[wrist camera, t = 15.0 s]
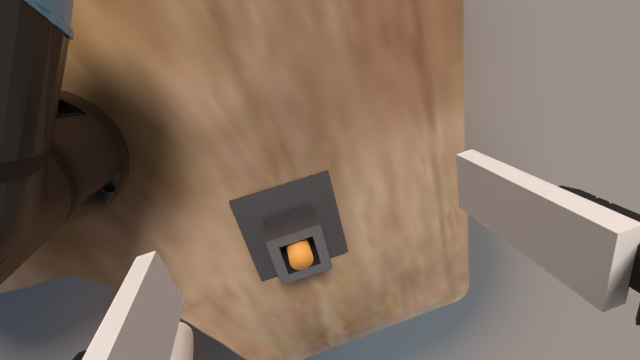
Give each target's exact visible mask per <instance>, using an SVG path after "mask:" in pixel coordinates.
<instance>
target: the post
mask: <svg viewBox="0 0 640 360" xmlns="http://www.w3.org/2000/svg"><path fill="white" fill-rule="evenodd" d="M286 248H287V252H288V257H289V262H290V265H291V267H292V268H294V269H296V270H304V269H307V268H308V267H310V266H311V264H312V263H313V254H312V251H311V248H310V245H309V242H308V238H306V239H303V240H300V241H297V242H294V243H291V244H288V245H286Z"/></svg>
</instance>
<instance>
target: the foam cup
mask: <svg viewBox="0 0 640 360" xmlns="http://www.w3.org/2000/svg"><path fill="white" fill-rule="evenodd" d="M193 340H194V337H193V332H192V330H191V328H190V327H189V326H188V325H186V324H185V323H182V322H179V326H178V330H177V334H176V338H175V342H174V346H173V350H172V354H171V358H170V360H193Z"/></svg>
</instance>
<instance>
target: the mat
mask: <svg viewBox="0 0 640 360" xmlns="http://www.w3.org/2000/svg"><path fill="white" fill-rule="evenodd" d="M310 203H311V204H312V206H313V209H314V211H315V213H316V216H317V218H318V220H319V223H320V225H321V229H322V232H323V236H324V239H325V243H326V246H327V250H328V253H329V257H330V258H331V257H334V256H337V255H339V254H342V253H345V252H348V249H347V245H346V241H345V237H344V233H343V229H342V225H341V221H340V217H339V213H338V209H337V205H336V201H335V197H334V193H333V189H332V185H331V181H330V177H329V173H328V171H324V172H321V173H318V174H314V175H311V176H308V177H305V178H302V179H298V180H295V181H292V182H289V183H286V184H282V185H279V186H276V187H273V188H270V189H266V190H263V191H260V192H257V193H254V194H250V195H247V196H244V197H241V198H238V199H234V200H231V201H229V204H230V206H231V209H232V211H233V213H234V216H235V218H236V221H237V223H238V225H239V228H240V230H241V233H242V235H243V237H244V240H245V242H246V245H247V247H248V249H249V252H250V254H251V257H252V259H253V262H254V264H255V266H256V269H257V271H258V274H259V276H260V278H261V281H263V280H266V279H269V278H272V277H275V276H278V274H277V272H276V269H275V267H274V264H273V261H272V259H271V256H270V254H269V251H268V248H267V246H266V243H265V235H264V225H263V219H264V218H267V217H270V216H273V215H276V214H279V213H282V212H285V211H288V210H291V209H295V208H298V207H301V206H304V205H307V204H310ZM310 239H312V237H309V238H308V240H310ZM283 248H286V245H285V246H283Z"/></svg>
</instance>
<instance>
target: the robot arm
mask: <svg viewBox="0 0 640 360" xmlns="http://www.w3.org/2000/svg"><path fill="white" fill-rule="evenodd" d="M72 8H73V0H0V285H1V284H2V283H3V282H4V281H5V280H6V279H7V278H8V277H9V276H10V275H11V274H12V273H13V272H14V271H15V270H16V269H17V268H18V267H19V266H20V265H21V264H22V263H23V262H24V261H26V260H27V259H28V258H29V257H30V256H31V255H32V254H33V253H34V252H35V251H36V250H37V249H38V248H39V247H40V246H41V245H42V244H43V243H44V242H45V241H46V240H47V239H48V238H49V237H50V236H51V235H52V234H53V233H55V232H56V231H57V230H58V229H59V228H60V227H61V226H62V225H65V224H68V223H70V222H73V221H76V220H79V219H82V218H85V217H88V216H90V215H92V214H94V213H96V212H98V211H99V210H101V209H102V208H104V207H105V206H106V205H107V204H109V203H110V202H111V201H112V199H113V198H114V197H115V196H116V195H117V194H118V193H119V192H120V190H121V189H122V187H123V185H124V184H125V181H126V179H127V176H128V171H129V156H128V150H127V147H126V144H125V141H124V139H123V137H122V135H121V134H120V132H119V130H118V129H117V127H116V126H115V125H114V123H113V122H112V121H111V120H110V119H109V118H108V117H107V116H106V115H105V114H104V113H103V112H102V111H101V110H99V109H98V108H97V107H95V106H94V105H93V104H91V103H89V102H88V101H86V100H84V99H82V98H81V97H78V96H76V95H74V94H71V93H69V92H66V91H63V90H61V87H62V81H63V75H64V69H65V63H66V57H67V51H68V45H69V39H70V40H73V36H74V33H73V30H72V29H71V18H72ZM456 161H457V178H458V195H459V208H461V209H462V210H463V211H465V212H466V213H468V214H469V215H470V216H472V217H473V218H475V219H476V220H477V221H478V222H480V223H481V224H483V225H484V226H485V227H487V228H488V229H490V230H491V231H492V232H493V233H495V234H496V235H498V236H499V237H500V238H502V239H503V240H504V241H506V242H507V243H508V244H510V245H511V246H513V247H514V248H515V249H517V250H518V251H519V252H521V253H522V254H523V255H525V256H526V257H528V258H529V259H530V260H532V261H533V262H534V263H536V264H537V265H539V266H540V267H541V268H543V269H544V270H545V271H547V272H548V273H550V274H551V275H552V276H554V277H555V278H556V279H558V280H559V281H560V282H562V283H563V284H564V285H566V286H567V287H569V288H570V289H571V290H573V291H574V292H575V293H577V294H578V295H579V296H581V297H582V298H584V299H585V300H586V301H588V302H589V303H590V304H592V305H593V306H594V307H596V308H597V309H599V310H600V311H601V312H605V311H607V310H610V309H612V308H615V307H617V306H620V305H622V304H625V303H626V299H627V295H628V290H629V287H631V288H632V289H634V290H636V291H637V292H639V293H640V215H639V214H637V213H635V212H632V211H630V210H628V209H625V208H623V207H620V206H618V205H616V204H613V203H612V204H610V203H609V202H608V201H606V200H603V199H601V198H596V196H594V195H591V194H589V193H586V192H584V191H581V190H579V189H574V188H569V187H565V186H555V185H553V184H551V183H548V182H546V181H544V180H541V179H539V178H537V177H534V176H532V175H530V174H528V173H525V172H523V171H521V170H518V169H516V168H514V167H511V166H509V165H507V164H504V163H502V162H500V161H498V160H495V159H493V158H490V157H488V156H486V155H484V154H482V153H479V152H477V151H474V150H468V151H465V152H462V153H459V154H456ZM183 305H184V299H183V297H182V295H181V294H180V292H179V290H178V288H177V286H176V285H175V283H174V281H173V279H172V278H171V276H170V274H169V272H168V271H167V269H166V267H165V265H164V264H163V262H162V260H161V258H160V257H159V255H158V253H157V251H153V252H150V253H147V254H144V255H141V256H138V257H136V259H135V261H134V263H133V264H132V266H131V268H130V270H129V272H128V274H127V276H126V278H125V279H124V281H123V283H122V285H121V287H120V289H119V291H118V293H117V294H116V297H115V298H114V300H113V302H112V304H111V306H110V308H109V310H108V312H107V313H106V315H105V317H104V319H103V321H102V323H101V325H100V327H99V328H98V330H97V332H96V334H95V336H94V338H93V340H92V342H91V344H90V345H89V347H88V349H87V350H85V351H82V352H79V353H78V354H77V355H76V356H75V357H74V359H73V360H170V358H171V354H172V350H173V346H174V342H175V338H176V334H177V330H178V326H179V322H180V318H181V314H182V309H183ZM636 325H640V305H639V308H638V312H637V316H636Z"/></svg>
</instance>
